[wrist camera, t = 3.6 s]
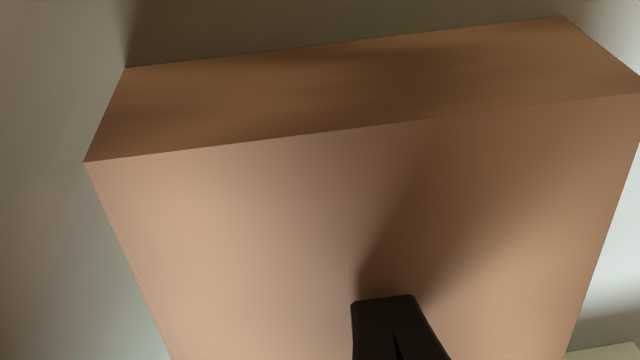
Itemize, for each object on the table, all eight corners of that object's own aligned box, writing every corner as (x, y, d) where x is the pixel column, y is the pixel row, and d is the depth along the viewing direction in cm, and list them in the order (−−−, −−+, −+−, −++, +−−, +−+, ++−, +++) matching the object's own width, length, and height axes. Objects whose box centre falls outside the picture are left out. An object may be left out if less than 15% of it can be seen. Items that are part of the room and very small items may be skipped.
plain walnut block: (217, 327, 18) (209, 443, 15) (127, 61, 12) (82, 162, 9) (499, 288, 18) (550, 394, 15) (554, 9, 12) (657, 89, 9)
